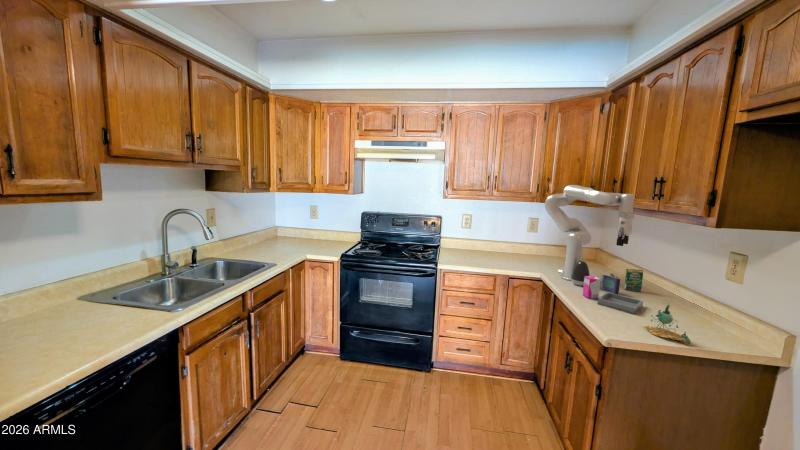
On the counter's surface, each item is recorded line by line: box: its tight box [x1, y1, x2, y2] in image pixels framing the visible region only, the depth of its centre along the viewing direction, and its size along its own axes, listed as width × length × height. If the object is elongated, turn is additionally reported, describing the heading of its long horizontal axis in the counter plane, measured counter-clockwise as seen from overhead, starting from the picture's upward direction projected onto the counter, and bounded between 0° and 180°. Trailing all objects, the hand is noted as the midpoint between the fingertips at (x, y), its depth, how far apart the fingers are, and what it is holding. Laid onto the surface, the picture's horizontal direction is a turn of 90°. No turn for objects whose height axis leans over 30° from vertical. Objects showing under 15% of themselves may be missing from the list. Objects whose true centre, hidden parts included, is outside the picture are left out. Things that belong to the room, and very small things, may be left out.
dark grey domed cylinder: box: [571, 260, 591, 287], centre depth 193 cm, size 10×10×15 cm
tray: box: [597, 291, 644, 315], centre depth 162 cm, size 16×16×3 cm
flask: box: [600, 272, 621, 295], centre depth 182 cm, size 10×3×12 cm, turn 24°
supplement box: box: [582, 275, 601, 300], centre depth 172 cm, size 6×6×12 cm
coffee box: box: [623, 268, 644, 293], centre depth 185 cm, size 8×3×13 cm, turn 66°
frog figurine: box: [642, 304, 693, 347], centre depth 130 cm, size 10×18×15 cm, turn 13°
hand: (622, 244), depth 180 cm, fingers open, 9 cm apart
